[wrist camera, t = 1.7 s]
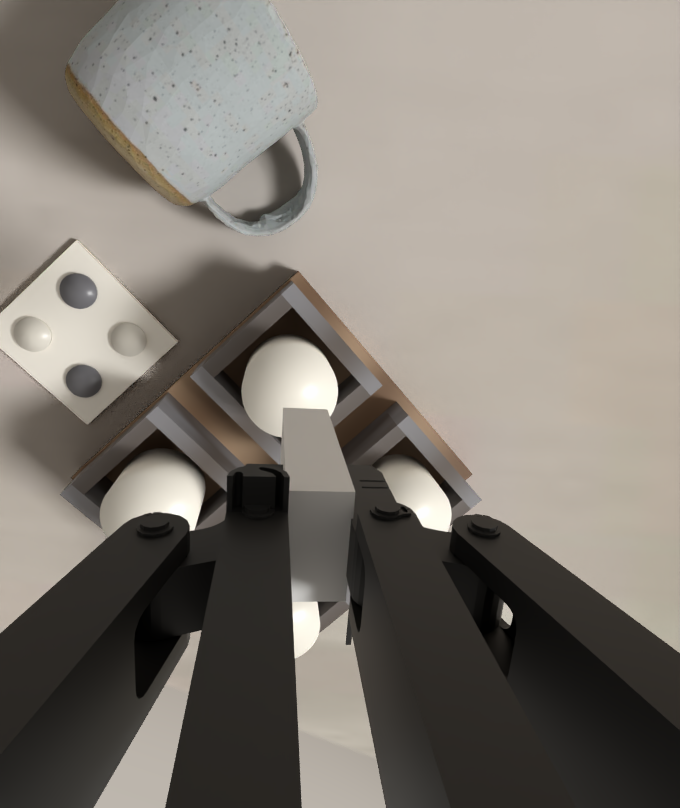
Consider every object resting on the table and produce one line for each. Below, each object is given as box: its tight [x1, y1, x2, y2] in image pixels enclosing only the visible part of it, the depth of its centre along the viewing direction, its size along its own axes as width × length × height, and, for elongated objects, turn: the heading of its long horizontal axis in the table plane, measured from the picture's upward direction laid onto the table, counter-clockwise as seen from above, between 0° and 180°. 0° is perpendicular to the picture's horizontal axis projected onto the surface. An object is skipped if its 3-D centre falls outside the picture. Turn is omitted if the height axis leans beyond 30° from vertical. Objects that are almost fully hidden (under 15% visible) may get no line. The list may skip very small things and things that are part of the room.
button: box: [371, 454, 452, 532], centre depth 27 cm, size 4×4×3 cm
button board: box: [60, 271, 482, 633], centre depth 29 cm, size 16×17×4 cm
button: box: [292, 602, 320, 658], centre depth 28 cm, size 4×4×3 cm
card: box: [0, 240, 179, 425], centre depth 27 cm, size 7×7×1 cm
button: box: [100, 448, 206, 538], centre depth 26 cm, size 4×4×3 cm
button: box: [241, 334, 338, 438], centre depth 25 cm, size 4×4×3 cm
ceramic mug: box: [65, 0, 318, 236], centre depth 22 cm, size 11×8×8 cm
